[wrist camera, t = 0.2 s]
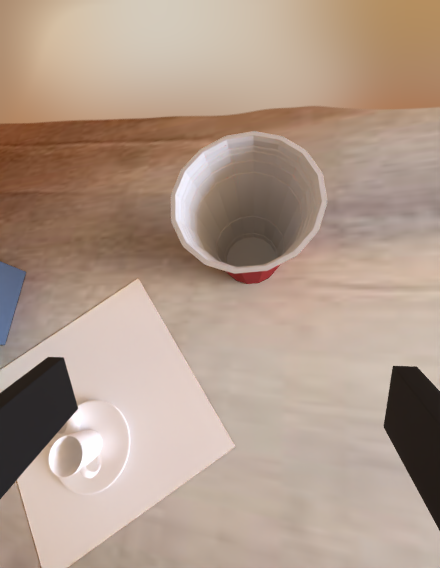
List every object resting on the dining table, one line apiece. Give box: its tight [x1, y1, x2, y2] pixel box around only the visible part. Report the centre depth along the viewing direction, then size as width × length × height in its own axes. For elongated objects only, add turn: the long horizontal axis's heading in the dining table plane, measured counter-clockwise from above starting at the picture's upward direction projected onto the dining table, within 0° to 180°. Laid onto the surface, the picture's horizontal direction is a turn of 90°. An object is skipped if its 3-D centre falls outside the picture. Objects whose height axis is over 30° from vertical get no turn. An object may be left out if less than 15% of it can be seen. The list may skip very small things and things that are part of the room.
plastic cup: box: [171, 131, 327, 284], centre depth 23 cm, size 11×11×12 cm
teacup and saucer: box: [47, 399, 131, 496], centre depth 24 cm, size 9×8×4 cm
